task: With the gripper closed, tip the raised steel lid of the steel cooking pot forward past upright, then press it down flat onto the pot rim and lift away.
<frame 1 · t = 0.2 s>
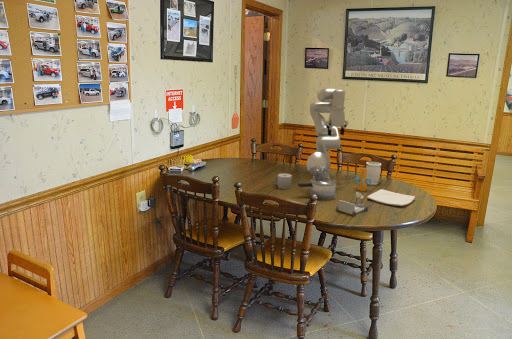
hand: (335, 135, 268), 36 cm above the table, tool pointing down, fingers open, 9 cm apart
plate: (390, 200, 256), on the table
orange blue upright piece: (362, 190, 275), on the table
toy car: (353, 211, 236), on the table
lid: (317, 164, 266), point 18 cm above the table, hinge at 100.0°
toilet tissue: (282, 187, 277), on the table
pot: (322, 196, 260), on the table
jar: (371, 183, 291), on the table
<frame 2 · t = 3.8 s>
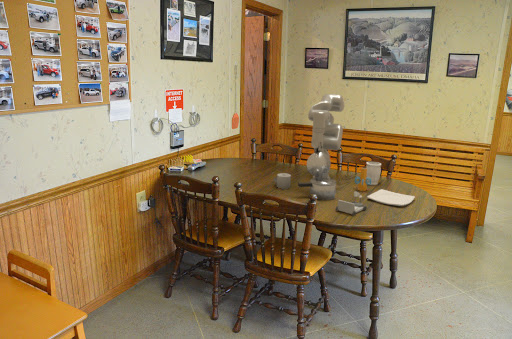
hand: (316, 158, 268), 21 cm above the table, tool pointing down, fingers closed
lid: (318, 164, 266), point 18 cm above the table, hinge at 98.9°, touching gripper
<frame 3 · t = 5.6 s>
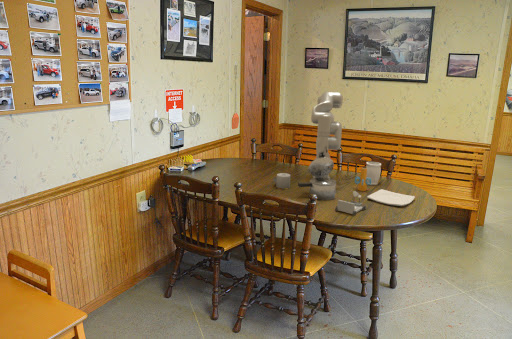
hand: (321, 162, 260), 21 cm above the table, tool pointing down, fingers closed
lid: (320, 166, 261), point 18 cm above the table, hinge at 62.8°, touching gripper
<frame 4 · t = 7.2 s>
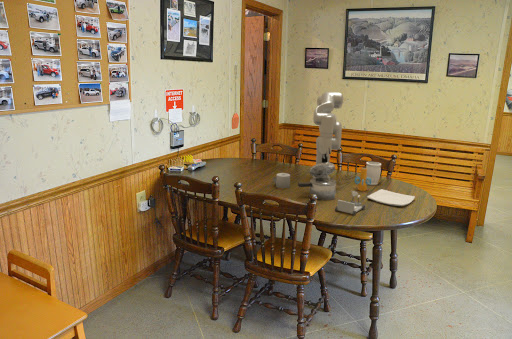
hand: (324, 164, 255), 21 cm above the table, tool pointing down, fingers closed
lid: (321, 168, 259), point 17 cm above the table, hinge at 45.7°, touching gripper
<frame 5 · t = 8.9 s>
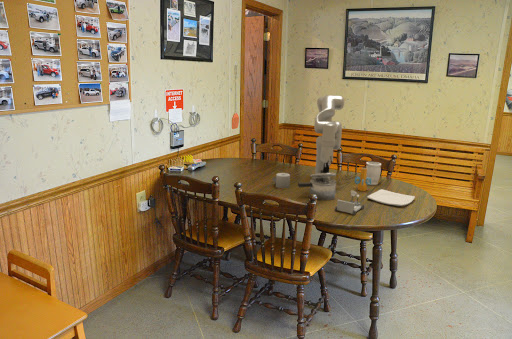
hand: (325, 172, 253), 16 cm above the table, tool pointing down, fingers closed
lid: (322, 173, 258), point 15 cm above the table, hinge at 20.5°, touching gripper
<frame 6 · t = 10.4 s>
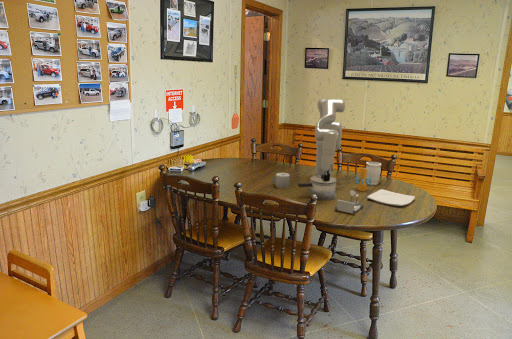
hand: (326, 180, 251), 12 cm above the table, tool pointing down, fingers closed
lid: (323, 177, 257), point 12 cm above the table, hinge at 1.5°, touching gripper
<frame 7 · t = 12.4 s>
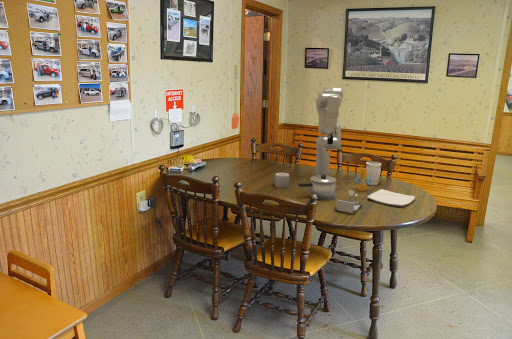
hand: (330, 144, 259), 32 cm above the table, tool pointing down, fingers closed
lid: (323, 177, 257), point 12 cm above the table, hinge at 1.5°
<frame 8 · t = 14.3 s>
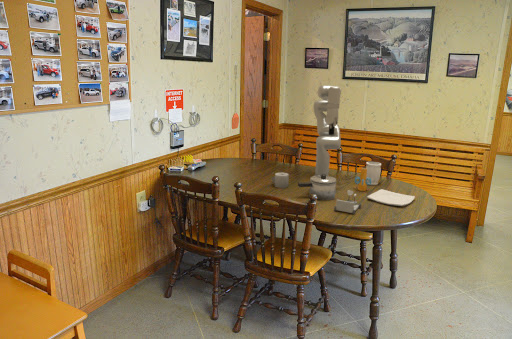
hand: (331, 134, 266), 37 cm above the table, tool pointing down, fingers closed
at the end: lid at +2° (first picture: +100°); orange blue upright piece moved 0.2 cm from its start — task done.
